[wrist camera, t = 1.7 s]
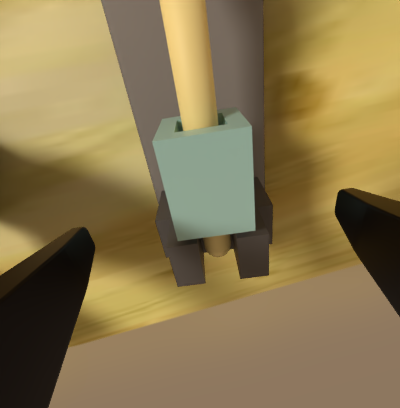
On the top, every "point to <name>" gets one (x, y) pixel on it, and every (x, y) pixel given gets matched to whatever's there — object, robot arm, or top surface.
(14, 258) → the top surface
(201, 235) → the sleeve
